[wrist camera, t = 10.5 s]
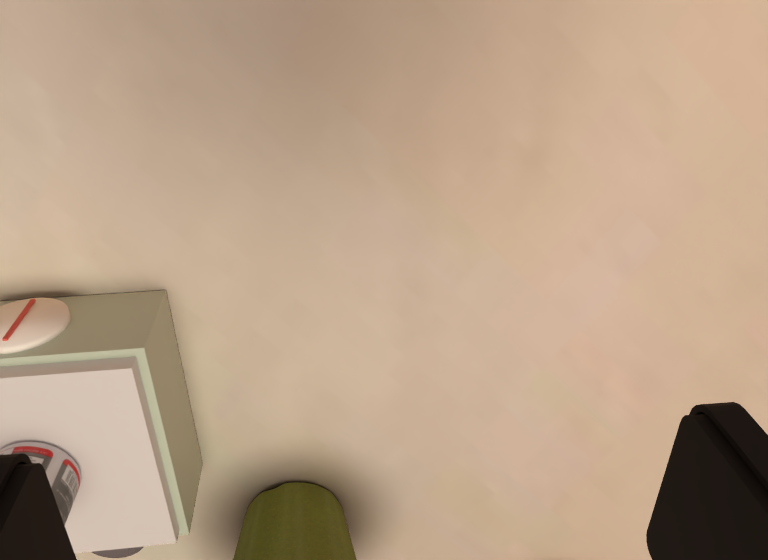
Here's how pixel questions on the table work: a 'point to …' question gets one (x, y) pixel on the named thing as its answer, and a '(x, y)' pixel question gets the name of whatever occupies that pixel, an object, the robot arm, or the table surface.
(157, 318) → the scale
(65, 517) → the pill bottle
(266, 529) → the plant pot
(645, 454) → the table surface
